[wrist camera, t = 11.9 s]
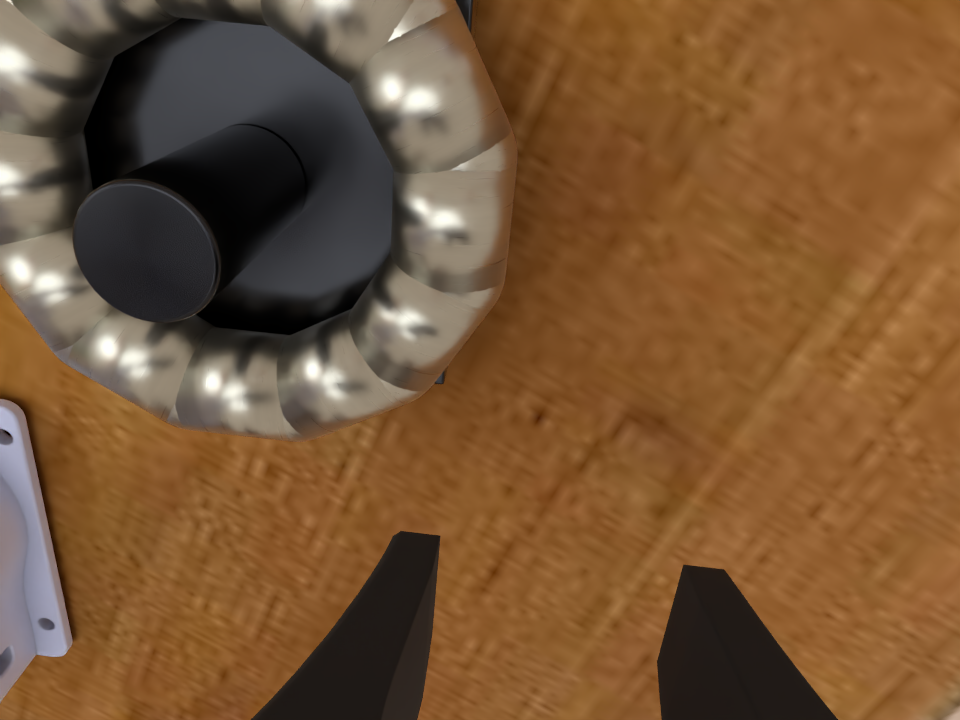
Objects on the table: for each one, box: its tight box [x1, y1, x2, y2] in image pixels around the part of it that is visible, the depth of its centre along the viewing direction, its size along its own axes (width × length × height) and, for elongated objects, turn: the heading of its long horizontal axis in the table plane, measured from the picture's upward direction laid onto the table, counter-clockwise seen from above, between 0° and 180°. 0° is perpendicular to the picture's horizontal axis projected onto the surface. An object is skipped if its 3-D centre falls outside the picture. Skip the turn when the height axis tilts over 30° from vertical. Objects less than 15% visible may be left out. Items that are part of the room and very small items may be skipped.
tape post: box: [72, 0, 478, 384], centre depth 15 cm, size 9×9×6 cm
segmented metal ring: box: [0, 0, 518, 442], centre depth 15 cm, size 11×11×2 cm
